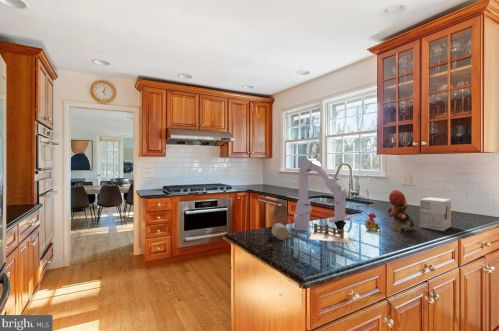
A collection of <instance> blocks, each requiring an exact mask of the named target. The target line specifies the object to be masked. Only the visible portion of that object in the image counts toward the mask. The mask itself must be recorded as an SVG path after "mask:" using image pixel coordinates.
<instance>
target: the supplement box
mask: <svg viewBox="0 0 499 331" xmlns="http://www.w3.org/2000/svg"><path fill="white" fill-rule="evenodd" d="M451 218H452V198H441V197H429V196H428V197H424V198H420V199H419V227H420V228H423V229H429V230H434V231H441V232H444V231H446V230H447V229H449V228H451V226H452V225H451V224H452V223H451V222H452V219H451Z"/></svg>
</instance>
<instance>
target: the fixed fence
mask: <svg viewBox="0 0 499 331" xmlns="http://www.w3.org/2000/svg"><path fill="white" fill-rule="evenodd" d="M328 226H329V223H328V224H327V223H326V224H324V225H323V224H318V223H313V229H314V232H317V231H320V232H322V231H325V233H328V230H329V228H328ZM323 228H324V229H323Z"/></svg>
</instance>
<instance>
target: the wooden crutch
mask: <svg viewBox="0 0 499 331" xmlns="http://www.w3.org/2000/svg"><path fill="white" fill-rule="evenodd" d="M336 231H340V233H338V232H336ZM328 232H331V233H333V235H336V234H337V235H340V237H341V238H344V232H345V230H344V228H343V229H337V227H334V226H330V225H328Z"/></svg>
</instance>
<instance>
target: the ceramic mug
mask: <svg viewBox="0 0 499 331" xmlns="http://www.w3.org/2000/svg"><path fill="white" fill-rule="evenodd" d="M271 233H272V235H273V236H274V237H276V239H278V240H279V241H280V240H281V241H284V240H286V239H288V238H289V239H292V238H293V235H292V234H291V233H290V232H289V230H288V228H287V227H286V226H285V225H284V224H282V223H280V222H277V223H274V224H273V226H272V228H271Z"/></svg>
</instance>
